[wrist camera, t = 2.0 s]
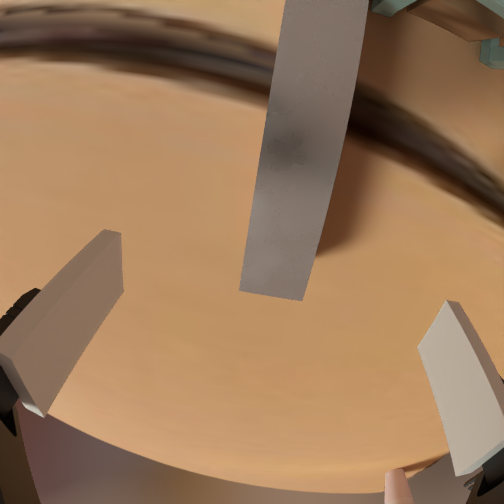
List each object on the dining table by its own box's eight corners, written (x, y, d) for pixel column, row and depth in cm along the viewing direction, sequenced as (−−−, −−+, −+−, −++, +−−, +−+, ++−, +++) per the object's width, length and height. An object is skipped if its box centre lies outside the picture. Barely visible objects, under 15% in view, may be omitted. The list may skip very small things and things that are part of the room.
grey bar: (247, 251, 24) (239, 290, 20) (299, -63, 12) (302, -97, 8) (299, 260, 24) (302, 301, 20) (358, -51, 12) (376, -80, 8)
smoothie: (387, 467, 43) (393, 532, 31) (416, 463, 43) (425, 525, 30) (373, 479, 46) (377, 539, 34) (401, 476, 46) (407, 533, 34)
